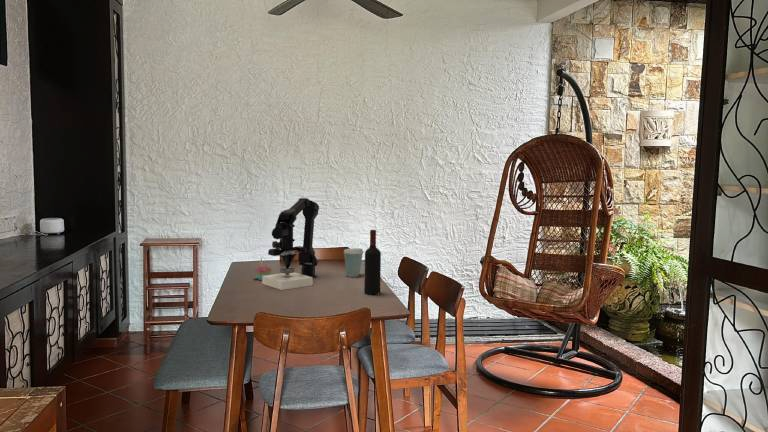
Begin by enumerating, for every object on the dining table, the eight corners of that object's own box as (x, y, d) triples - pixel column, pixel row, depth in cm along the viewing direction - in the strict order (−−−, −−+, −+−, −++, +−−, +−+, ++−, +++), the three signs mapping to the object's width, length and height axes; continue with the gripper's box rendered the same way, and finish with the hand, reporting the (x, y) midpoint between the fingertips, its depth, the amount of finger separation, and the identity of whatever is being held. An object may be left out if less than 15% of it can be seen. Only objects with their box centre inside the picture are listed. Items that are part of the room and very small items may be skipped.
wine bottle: (368, 295, 291) (369, 231, 288) (361, 292, 298) (362, 229, 295) (383, 294, 295) (384, 230, 292) (375, 291, 301) (376, 228, 298)
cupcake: (267, 281, 321) (267, 258, 320) (251, 280, 322) (251, 257, 321) (273, 278, 329) (273, 255, 328) (258, 277, 331) (258, 254, 330)
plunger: (289, 278, 318) (289, 266, 318) (297, 280, 313) (297, 268, 312) (277, 279, 314) (277, 267, 313) (285, 282, 308) (285, 269, 308)
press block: (292, 279, 326) (292, 271, 326) (312, 285, 313) (312, 277, 312) (262, 283, 314) (262, 275, 314) (281, 290, 301) (281, 281, 300)
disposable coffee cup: (339, 276, 335) (340, 249, 334) (348, 273, 345) (348, 246, 343) (358, 278, 331) (358, 250, 330) (366, 275, 341) (366, 247, 340)
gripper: (294, 233, 323) (294, 263, 325) (262, 236, 311) (262, 267, 313) (306, 236, 315) (306, 267, 316) (274, 239, 303) (274, 271, 304)
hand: (287, 268), depth 313 cm, fingers closed, pressing on plunger
